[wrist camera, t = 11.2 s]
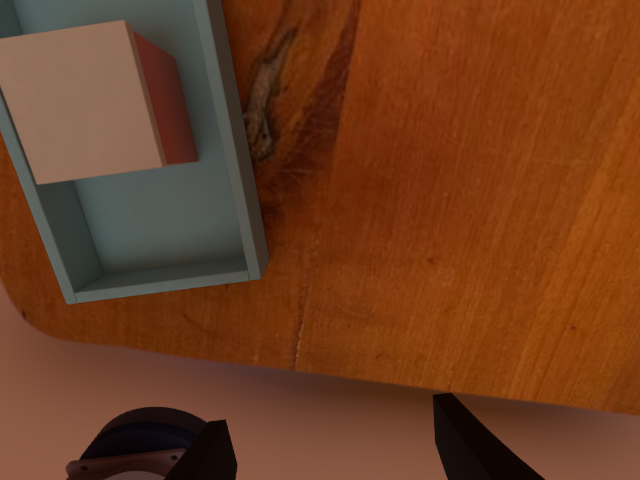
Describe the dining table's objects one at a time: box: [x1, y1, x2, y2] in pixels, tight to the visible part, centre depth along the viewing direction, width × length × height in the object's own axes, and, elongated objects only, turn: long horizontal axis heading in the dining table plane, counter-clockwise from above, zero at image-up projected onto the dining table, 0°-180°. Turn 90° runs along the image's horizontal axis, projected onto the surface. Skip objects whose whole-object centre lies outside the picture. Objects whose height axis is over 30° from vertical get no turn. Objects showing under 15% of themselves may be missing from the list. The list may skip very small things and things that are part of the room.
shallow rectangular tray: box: [0, 0, 269, 304], centre depth 16 cm, size 10×17×3 cm, turn 8°
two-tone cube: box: [0, 20, 199, 185], centre depth 14 cm, size 5×5×4 cm
